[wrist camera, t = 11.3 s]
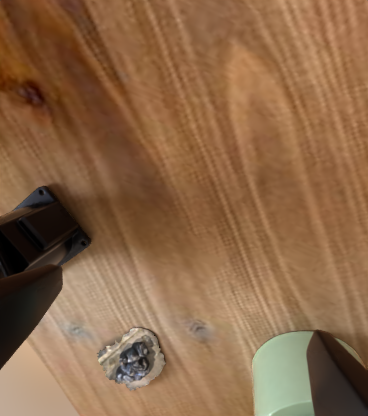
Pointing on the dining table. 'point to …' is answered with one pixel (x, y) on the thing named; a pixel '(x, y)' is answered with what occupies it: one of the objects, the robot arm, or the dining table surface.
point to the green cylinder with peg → (284, 376)
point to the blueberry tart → (133, 359)
